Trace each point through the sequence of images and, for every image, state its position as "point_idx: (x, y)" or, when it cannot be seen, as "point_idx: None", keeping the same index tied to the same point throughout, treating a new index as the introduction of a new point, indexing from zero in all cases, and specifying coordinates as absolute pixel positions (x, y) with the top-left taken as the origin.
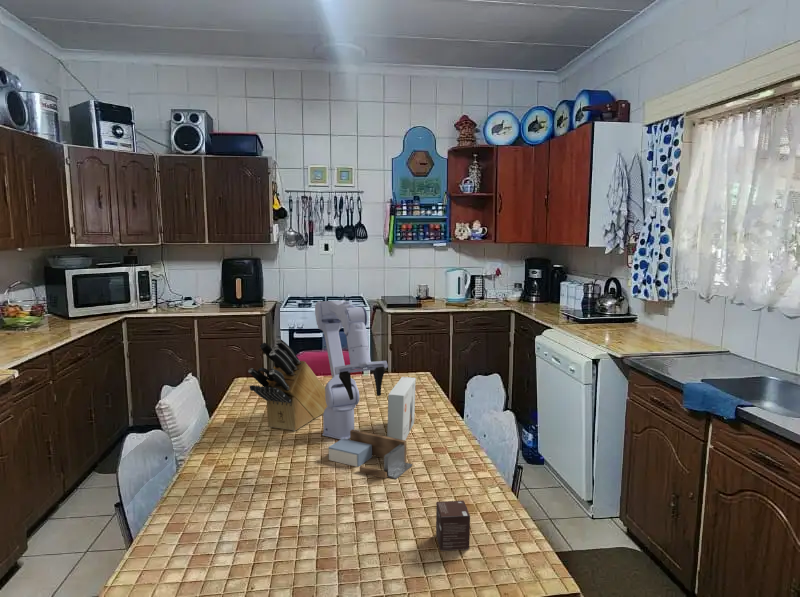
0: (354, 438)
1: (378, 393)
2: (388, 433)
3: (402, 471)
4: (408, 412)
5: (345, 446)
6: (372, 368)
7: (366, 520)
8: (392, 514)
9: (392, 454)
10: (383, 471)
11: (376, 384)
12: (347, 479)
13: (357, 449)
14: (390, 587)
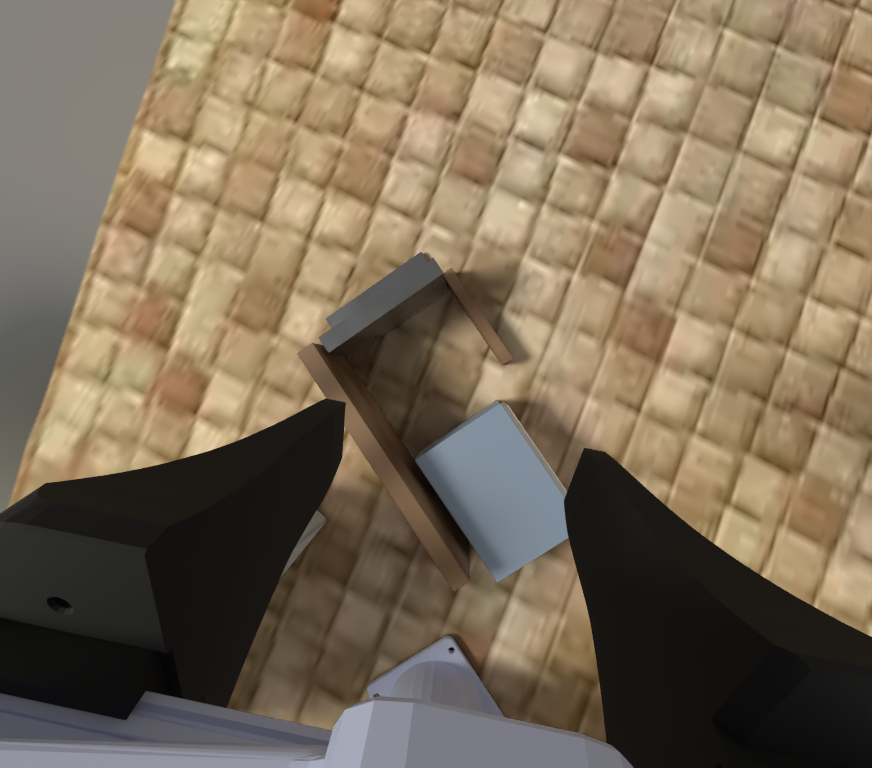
0: (457, 547)
1: (340, 408)
2: (304, 531)
3: (381, 282)
4: None
5: (519, 496)
6: (195, 730)
7: (618, 57)
8: (533, 55)
9: (403, 279)
10: (451, 283)
11: (293, 520)
12: (568, 328)
13: (486, 444)
14: None
